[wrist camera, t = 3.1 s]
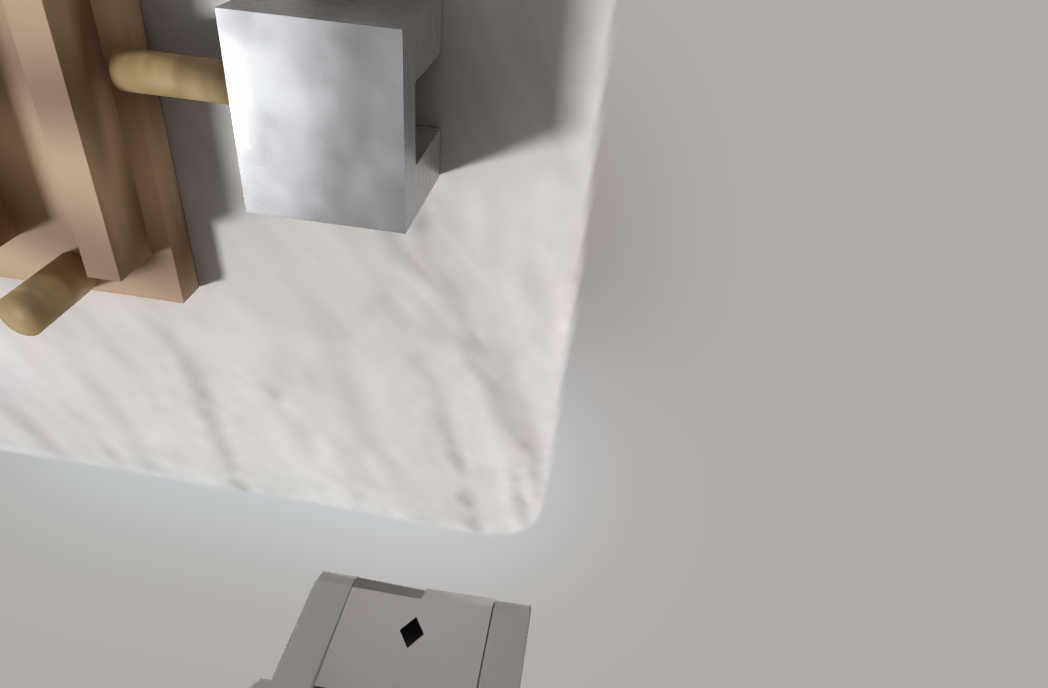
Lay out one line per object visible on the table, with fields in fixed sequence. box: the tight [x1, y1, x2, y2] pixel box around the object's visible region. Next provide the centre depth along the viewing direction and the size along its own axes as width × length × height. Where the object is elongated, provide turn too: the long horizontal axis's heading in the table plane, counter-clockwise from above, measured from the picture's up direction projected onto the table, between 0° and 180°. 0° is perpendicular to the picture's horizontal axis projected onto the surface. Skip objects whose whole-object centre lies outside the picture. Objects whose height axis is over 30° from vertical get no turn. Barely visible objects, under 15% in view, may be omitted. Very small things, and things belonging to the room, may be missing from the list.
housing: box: [215, 0, 442, 234], centre depth 27 cm, size 7×6×6 cm
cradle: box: [0, 0, 229, 336], centre depth 28 cm, size 22×15×6 cm
